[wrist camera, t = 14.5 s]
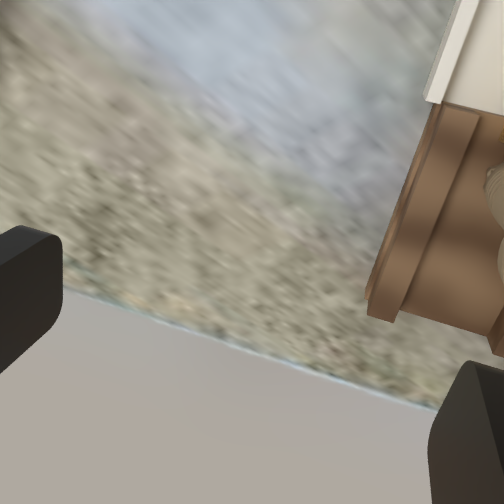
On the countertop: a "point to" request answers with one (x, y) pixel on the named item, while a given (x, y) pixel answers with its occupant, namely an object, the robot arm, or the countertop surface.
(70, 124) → the countertop surface
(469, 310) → the slot board
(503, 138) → the chip
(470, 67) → the tray
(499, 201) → the handle
